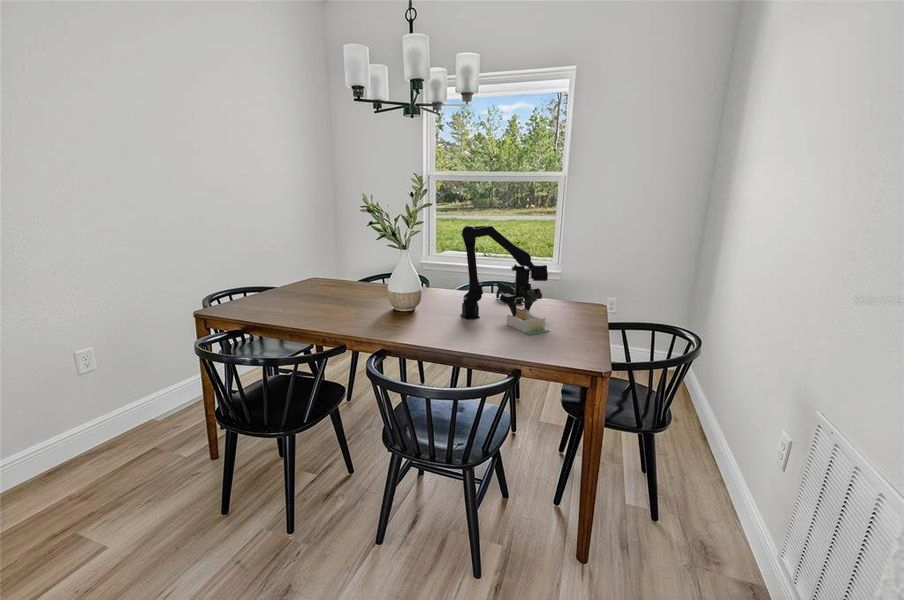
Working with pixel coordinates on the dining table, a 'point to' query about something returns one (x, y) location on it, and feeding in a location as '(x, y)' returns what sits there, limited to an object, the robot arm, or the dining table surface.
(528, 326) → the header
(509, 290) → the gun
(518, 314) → the orange base grey top
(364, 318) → the dining table surface
